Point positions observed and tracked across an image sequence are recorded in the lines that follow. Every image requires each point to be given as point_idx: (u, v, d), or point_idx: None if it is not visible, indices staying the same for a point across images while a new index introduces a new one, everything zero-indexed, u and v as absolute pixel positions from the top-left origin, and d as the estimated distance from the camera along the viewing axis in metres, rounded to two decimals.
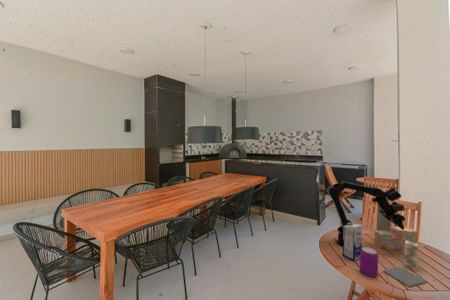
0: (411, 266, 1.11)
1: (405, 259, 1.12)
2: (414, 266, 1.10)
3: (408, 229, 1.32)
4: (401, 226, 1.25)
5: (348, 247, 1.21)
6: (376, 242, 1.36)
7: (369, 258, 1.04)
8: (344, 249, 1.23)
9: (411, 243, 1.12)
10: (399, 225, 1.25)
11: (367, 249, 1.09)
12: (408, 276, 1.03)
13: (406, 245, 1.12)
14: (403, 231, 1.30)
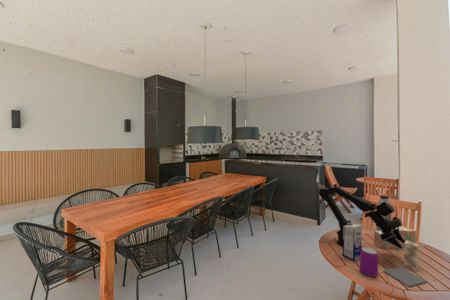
0: (411, 266, 1.11)
1: (405, 259, 1.12)
2: (414, 266, 1.10)
3: (407, 229, 1.33)
4: (396, 244, 1.13)
5: (348, 247, 1.21)
6: (376, 242, 1.36)
7: (369, 258, 1.04)
8: (344, 249, 1.23)
9: (411, 243, 1.12)
10: (393, 243, 1.13)
11: (367, 249, 1.09)
12: (408, 276, 1.03)
13: (406, 245, 1.12)
14: (402, 231, 1.31)
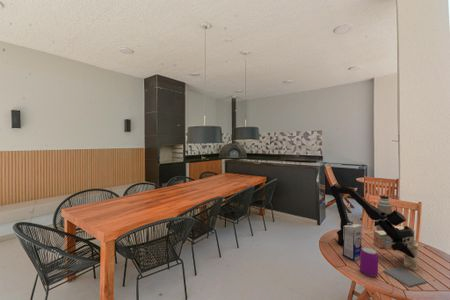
0: (411, 266, 1.11)
1: (405, 259, 1.12)
2: (414, 266, 1.10)
3: None
4: (408, 253, 1.10)
5: (348, 247, 1.21)
6: (375, 242, 1.36)
7: (369, 258, 1.04)
8: (344, 249, 1.23)
9: (411, 243, 1.12)
10: (405, 252, 1.11)
11: (367, 249, 1.09)
12: (408, 276, 1.03)
13: None
14: None
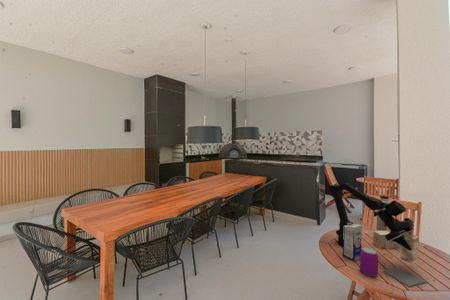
0: (408, 259, 1.05)
1: (402, 251, 1.07)
2: (411, 259, 1.04)
3: None
4: (405, 245, 1.05)
5: (348, 247, 1.21)
6: (375, 242, 1.35)
7: (369, 258, 1.04)
8: (344, 249, 1.23)
9: (410, 235, 1.06)
10: (401, 243, 1.06)
11: (367, 249, 1.09)
12: (408, 276, 1.03)
13: None
14: None
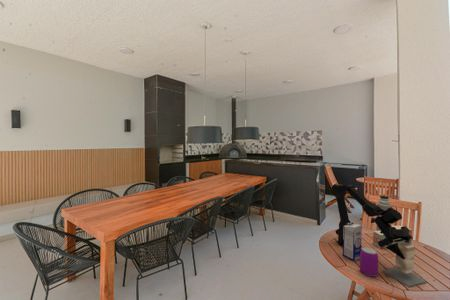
0: (401, 268, 1.03)
1: (396, 260, 1.05)
2: (404, 268, 1.02)
3: None
4: (398, 254, 1.03)
5: (348, 247, 1.21)
6: (375, 243, 1.35)
7: (369, 258, 1.04)
8: (344, 249, 1.23)
9: (405, 244, 1.03)
10: (395, 252, 1.04)
11: (367, 249, 1.09)
12: (408, 276, 1.03)
13: (398, 245, 1.04)
14: None
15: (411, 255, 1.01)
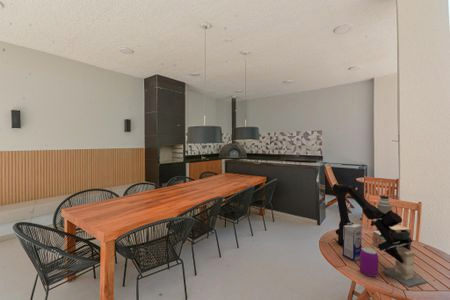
0: (402, 274, 1.03)
1: (396, 266, 1.05)
2: (404, 274, 1.02)
3: (402, 227, 1.35)
4: (397, 257, 1.03)
5: (348, 247, 1.21)
6: (374, 243, 1.35)
7: (369, 258, 1.04)
8: (344, 249, 1.23)
9: (404, 250, 1.04)
10: (393, 255, 1.04)
11: (367, 249, 1.09)
12: None
13: (397, 251, 1.05)
14: (399, 230, 1.32)
15: (411, 261, 1.02)
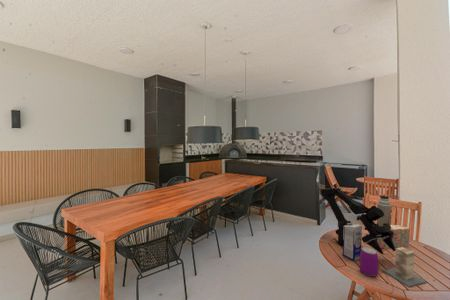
0: (402, 274, 1.03)
1: (396, 266, 1.05)
2: (404, 274, 1.02)
3: (400, 227, 1.36)
4: (377, 249, 1.11)
5: (348, 247, 1.21)
6: None
7: (369, 258, 1.04)
8: (344, 249, 1.23)
9: (404, 250, 1.04)
10: (375, 247, 1.12)
11: (367, 249, 1.09)
12: None
13: (397, 251, 1.05)
14: (398, 229, 1.33)
15: (411, 261, 1.02)
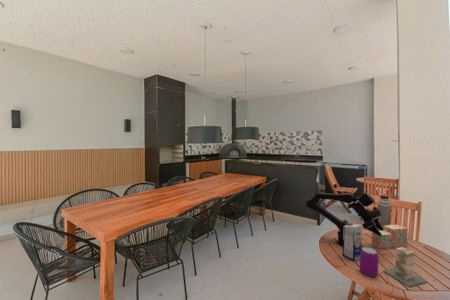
0: (402, 274, 1.03)
1: (396, 266, 1.05)
2: (404, 274, 1.02)
3: (399, 226, 1.37)
4: (376, 232, 1.21)
5: (348, 247, 1.21)
6: (374, 243, 1.35)
7: (369, 258, 1.04)
8: (344, 249, 1.23)
9: (404, 250, 1.04)
10: (374, 231, 1.21)
11: (367, 249, 1.09)
12: None
13: (397, 251, 1.05)
14: (397, 229, 1.33)
15: (411, 261, 1.02)
